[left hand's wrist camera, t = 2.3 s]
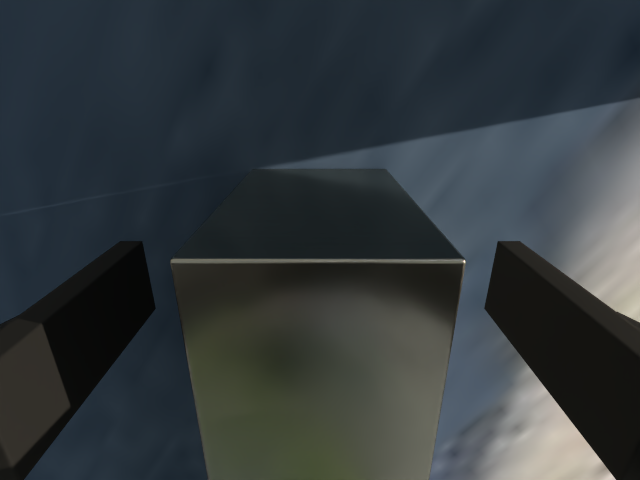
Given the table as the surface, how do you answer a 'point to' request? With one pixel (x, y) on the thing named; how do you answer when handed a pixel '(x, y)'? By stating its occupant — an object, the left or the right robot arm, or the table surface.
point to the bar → (318, 327)
